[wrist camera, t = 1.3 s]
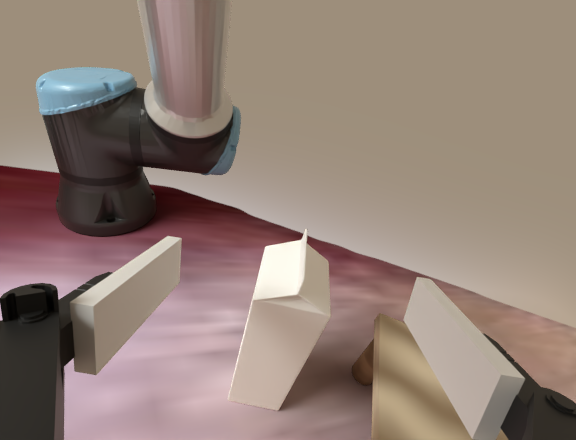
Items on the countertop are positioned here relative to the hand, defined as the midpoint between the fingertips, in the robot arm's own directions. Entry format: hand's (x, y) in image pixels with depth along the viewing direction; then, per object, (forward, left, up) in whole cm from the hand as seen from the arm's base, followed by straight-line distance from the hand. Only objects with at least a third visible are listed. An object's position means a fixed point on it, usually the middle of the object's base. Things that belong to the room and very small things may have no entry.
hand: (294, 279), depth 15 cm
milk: (-5, 0, -24) cm, 25 cm away
